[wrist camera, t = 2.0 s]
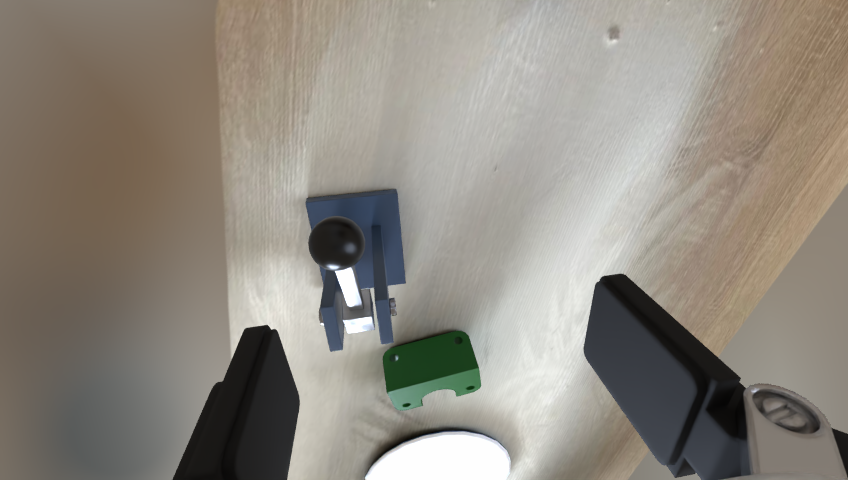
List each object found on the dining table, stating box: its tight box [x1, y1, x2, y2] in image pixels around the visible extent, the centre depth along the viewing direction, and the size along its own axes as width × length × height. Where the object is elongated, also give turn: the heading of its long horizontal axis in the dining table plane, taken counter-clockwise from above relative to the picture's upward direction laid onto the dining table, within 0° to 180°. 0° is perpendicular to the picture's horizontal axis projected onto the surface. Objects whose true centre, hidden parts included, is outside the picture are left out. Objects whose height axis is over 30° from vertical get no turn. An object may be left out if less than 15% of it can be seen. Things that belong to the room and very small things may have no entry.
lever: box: [308, 216, 375, 333], centre depth 26 cm, size 13×3×3 cm, turn 3°
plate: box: [365, 431, 511, 480], centre depth 63 cm, size 25×25×1 cm
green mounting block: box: [383, 331, 481, 410], centre depth 48 cm, size 12×6×9 cm, turn 96°
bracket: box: [306, 189, 406, 352], centre depth 35 cm, size 11×9×14 cm
